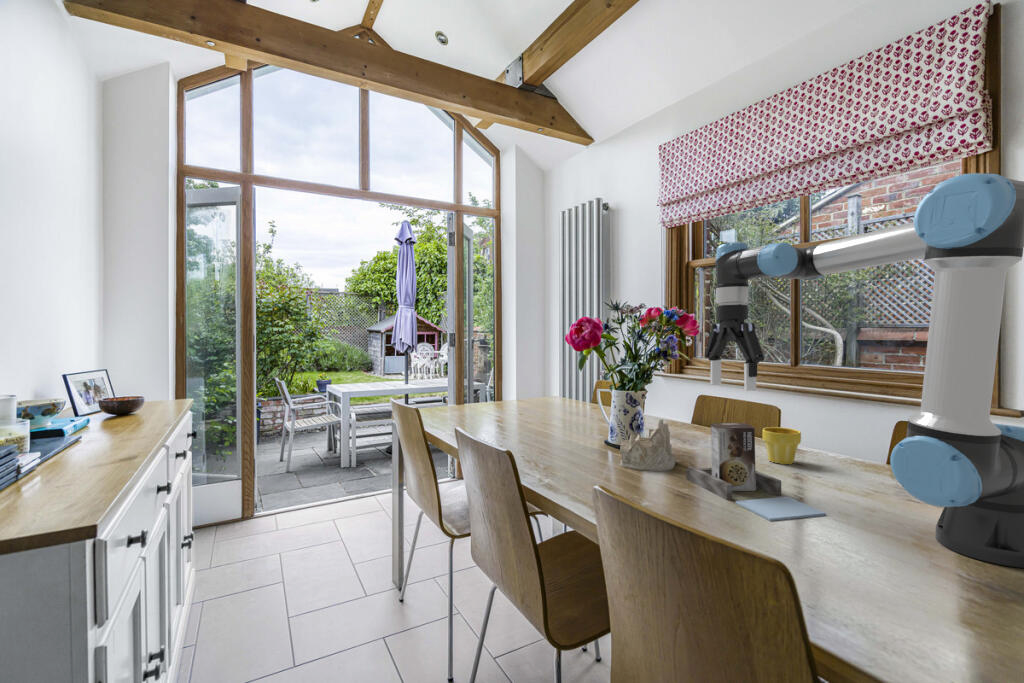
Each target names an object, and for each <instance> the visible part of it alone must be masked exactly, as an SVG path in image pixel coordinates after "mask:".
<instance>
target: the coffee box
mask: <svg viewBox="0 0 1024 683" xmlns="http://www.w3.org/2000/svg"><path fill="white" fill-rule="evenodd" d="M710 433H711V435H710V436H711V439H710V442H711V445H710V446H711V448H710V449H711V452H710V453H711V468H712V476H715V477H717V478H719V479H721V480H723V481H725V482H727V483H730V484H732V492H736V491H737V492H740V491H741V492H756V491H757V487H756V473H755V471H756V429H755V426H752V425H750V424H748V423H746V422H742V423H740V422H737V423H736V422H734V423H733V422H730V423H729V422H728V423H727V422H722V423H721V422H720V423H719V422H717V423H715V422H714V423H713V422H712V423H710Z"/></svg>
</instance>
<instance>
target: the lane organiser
mask: <svg viewBox="0 0 1024 683" xmlns="http://www.w3.org/2000/svg"><path fill="white" fill-rule="evenodd" d="M755 473H756V488H758V489H761V490H762V491H765V492H768V493H769V494H772V495H774V496H782V480H780V479H778V478H776V477H773V476H771V475H768V474H765V473H763V472H761V471H758V470H755ZM685 479H686V480H688V481H690V482H691V483H693V484H696V485H697V486H700V488H704V489H705V490H707V491H709V492H711V493H713V494H715V495H717V496H718V497H721V498H723V499H724V500H727V501H729V500H733V491H732V484H730V483H727V482H725V481H723V480H721V479H719V478H717V477H715V476H712V467H704V468H703V467H701V468H697V467H695V466H694V465H691V466H687V468H686V469H685Z"/></svg>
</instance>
